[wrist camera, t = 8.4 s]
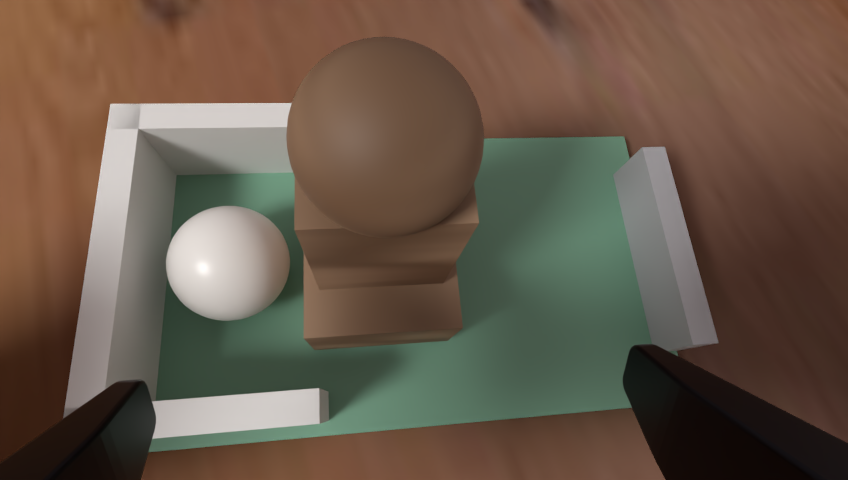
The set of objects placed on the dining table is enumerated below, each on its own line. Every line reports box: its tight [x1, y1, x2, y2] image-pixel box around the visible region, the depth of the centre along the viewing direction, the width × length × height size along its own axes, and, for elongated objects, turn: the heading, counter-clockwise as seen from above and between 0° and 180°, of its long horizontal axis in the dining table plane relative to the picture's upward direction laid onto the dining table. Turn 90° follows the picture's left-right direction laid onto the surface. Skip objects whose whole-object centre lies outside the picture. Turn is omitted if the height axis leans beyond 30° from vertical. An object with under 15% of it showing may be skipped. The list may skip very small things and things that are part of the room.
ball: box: [166, 206, 290, 321], centre depth 17 cm, size 4×4×4 cm
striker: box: [286, 37, 484, 350], centre depth 14 cm, size 5×6×12 cm
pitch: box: [63, 103, 719, 452], centre depth 18 cm, size 21×12×4 cm, turn 94°
